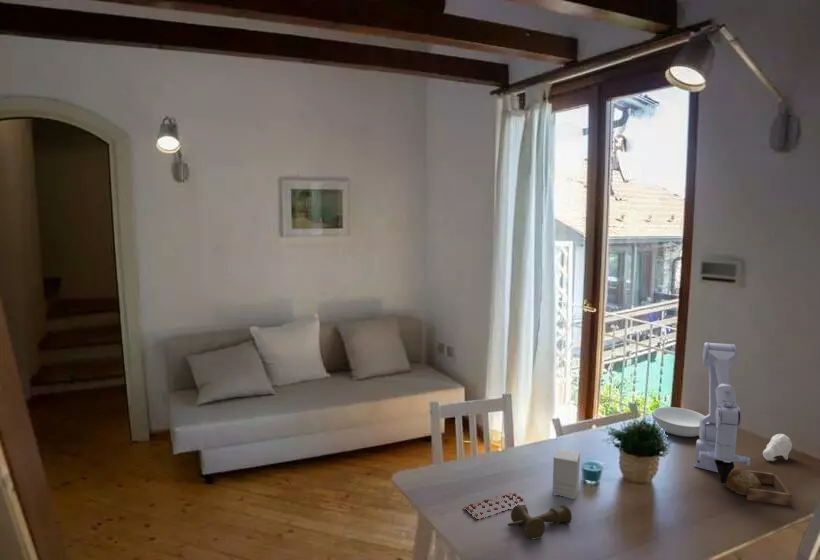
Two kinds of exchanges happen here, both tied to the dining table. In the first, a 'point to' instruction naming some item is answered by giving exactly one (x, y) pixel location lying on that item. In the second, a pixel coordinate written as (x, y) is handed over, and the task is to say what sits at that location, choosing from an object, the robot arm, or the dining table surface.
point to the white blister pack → (495, 503)
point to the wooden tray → (769, 496)
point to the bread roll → (742, 481)
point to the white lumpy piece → (778, 447)
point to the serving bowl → (678, 420)
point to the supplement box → (566, 473)
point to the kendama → (539, 519)
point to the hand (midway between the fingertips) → (722, 481)
